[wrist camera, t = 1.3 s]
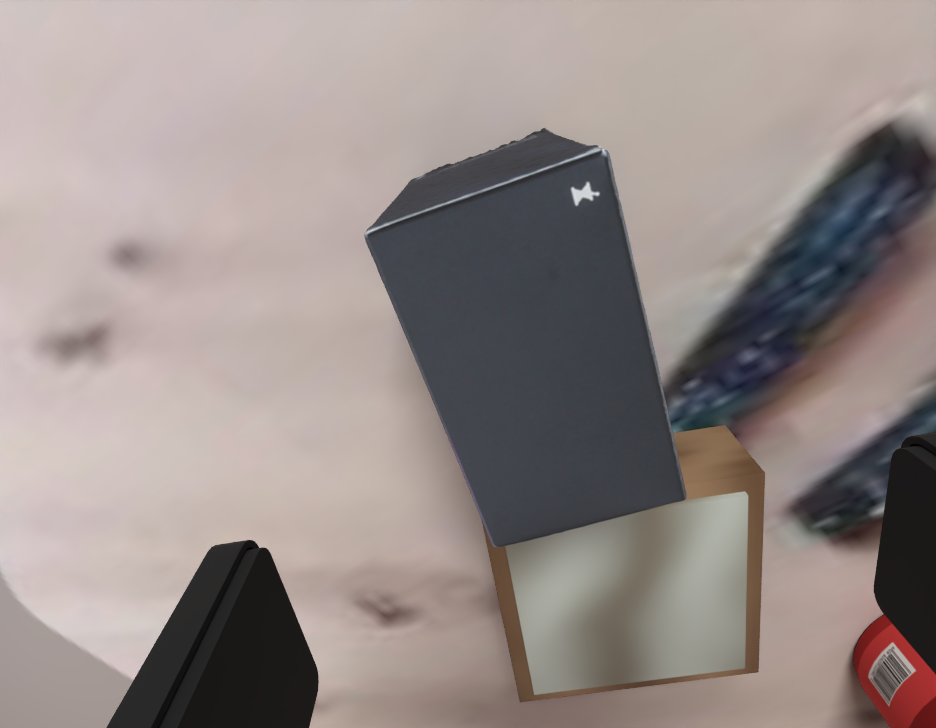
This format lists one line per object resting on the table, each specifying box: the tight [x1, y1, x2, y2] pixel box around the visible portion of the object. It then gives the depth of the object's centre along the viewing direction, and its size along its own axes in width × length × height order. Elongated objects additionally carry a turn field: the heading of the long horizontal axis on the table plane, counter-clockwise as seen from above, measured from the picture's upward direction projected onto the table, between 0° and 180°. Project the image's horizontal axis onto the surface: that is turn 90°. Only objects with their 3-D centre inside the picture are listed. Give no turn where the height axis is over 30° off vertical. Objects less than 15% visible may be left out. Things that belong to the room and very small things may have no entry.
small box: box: [364, 128, 687, 547], centre depth 20 cm, size 11×6×10 cm, turn 19°
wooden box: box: [482, 425, 765, 702], centre depth 28 cm, size 12×12×4 cm
